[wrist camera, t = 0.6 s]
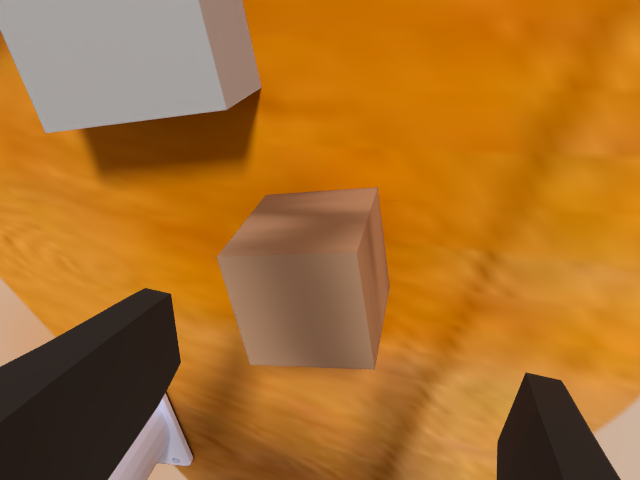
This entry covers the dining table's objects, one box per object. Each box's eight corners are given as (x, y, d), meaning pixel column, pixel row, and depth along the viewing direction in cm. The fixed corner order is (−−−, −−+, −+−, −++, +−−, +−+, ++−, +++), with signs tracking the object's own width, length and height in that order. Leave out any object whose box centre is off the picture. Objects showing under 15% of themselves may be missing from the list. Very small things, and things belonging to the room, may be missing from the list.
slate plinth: (106, 108, 20) (45, 133, 17) (30, -95, 16) (-61, -109, 14) (264, 86, 18) (226, 109, 15) (212, -150, 14) (152, -179, 12)
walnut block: (288, 287, 22) (250, 364, 17) (266, 194, 20) (216, 257, 15) (389, 286, 20) (374, 369, 16) (377, 186, 18) (356, 252, 14)
